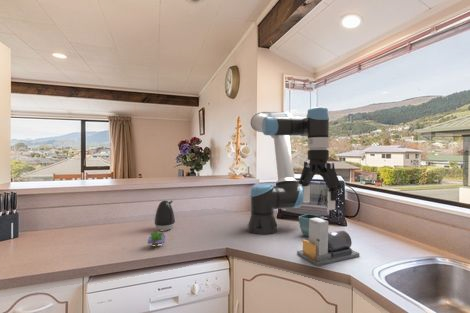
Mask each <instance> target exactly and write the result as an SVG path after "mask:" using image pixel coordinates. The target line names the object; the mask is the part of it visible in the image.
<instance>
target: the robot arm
mask: <svg viewBox="0 0 470 313" xmlns="http://www.w3.org/2000/svg"><path fill="white" fill-rule="evenodd" d="M329 122H330V116H329V109H328V108H327V107H324V106H316V107H310V108H308V109H307V115H306V116H293V114H292V113H290V112H287V111H286V112H285V111H280V112H279V111H261V112H257V113H255V114H254V115H252V117H251V119H250V126H251V128H252V130H254V131H255V132H257V133H262V134H263V135H264V136H270V137H271V138H272V139H273V141H274V152H275V153H274V154H275V161H276V171H277V172H276V173H277V181H276V182H275V185H274V183H271V182H270V183H269V182H268V183H260V184H255V185H253V186H252V187H251V189H250V217H249V220H248V223H247V231H248V232H250V233H252V234H257V235H270V234H275V233H277V232H278V224H277V221H276V218H275V210H282V209H284V210H285V209H286V210H287V209H290V210H291V209H292V210H293V209H297V208H301V206H302V204H303V203H304V204H309V203H311V186H310V183H311V182H312V180H313V178H314V177H315V175H319V176H321V178H322V179H323V181H324V183H325V185H326V186H327V188H328V190H327V210H328V211H333V210H336V201H337V191H341V190H342V186H341V182H340V180H339V177H338V175H337V172H336V169H335V163H334V162H328V160H329V157H330V154H329V152H330V151H329V148H330V145H329V144H330V141H329V140H330V139H329V138H330V136H329V135H330V134H329V133H330V132H329V127H330V124H329ZM291 136H301V137H307V149H308V150H307V160H309V161H304V162H303V169H302V172H301V175H300V177H299V180H297V179H296V178H295V173H294V164H293V156H292V146H291V138H290V137H291ZM299 184H300V185H299Z"/></svg>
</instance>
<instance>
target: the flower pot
mask: <svg viewBox="0 0 470 313" xmlns="http://www.w3.org/2000/svg"><path fill="white" fill-rule="evenodd" d="M311 218H320V219H323V220H325V219H324V218H325V217H324V216H323V215H317V214H311V213H305V214H302V215H300V216H298V222H299V229H300V230H301V233H302V235H304V236H306V237H309V219H311Z"/></svg>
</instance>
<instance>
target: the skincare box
mask: <svg viewBox="0 0 470 313" xmlns="http://www.w3.org/2000/svg"><path fill="white" fill-rule="evenodd" d="M328 233H329V221H328V220H325V219H324V220H323V219H320V218H311V219H309V236H308V241H309V242H311V243H313V244H315V245H316V254H317V255H325V254H327V253H328Z"/></svg>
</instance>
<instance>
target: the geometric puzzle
mask: <svg viewBox="0 0 470 313" xmlns="http://www.w3.org/2000/svg"><path fill="white" fill-rule="evenodd" d="M165 241H166V235H165V234H164V231H160V230H158V229H157V230H156V231H154V233H153V232H152V233H150V235H149V237H148V240H147V245H150V244H152V245H155V246H154V247H158V248H160V247H161V246H157V245H158V244H162V245H163V244H165V243H166V242H165ZM152 245H151V246H152Z"/></svg>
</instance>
